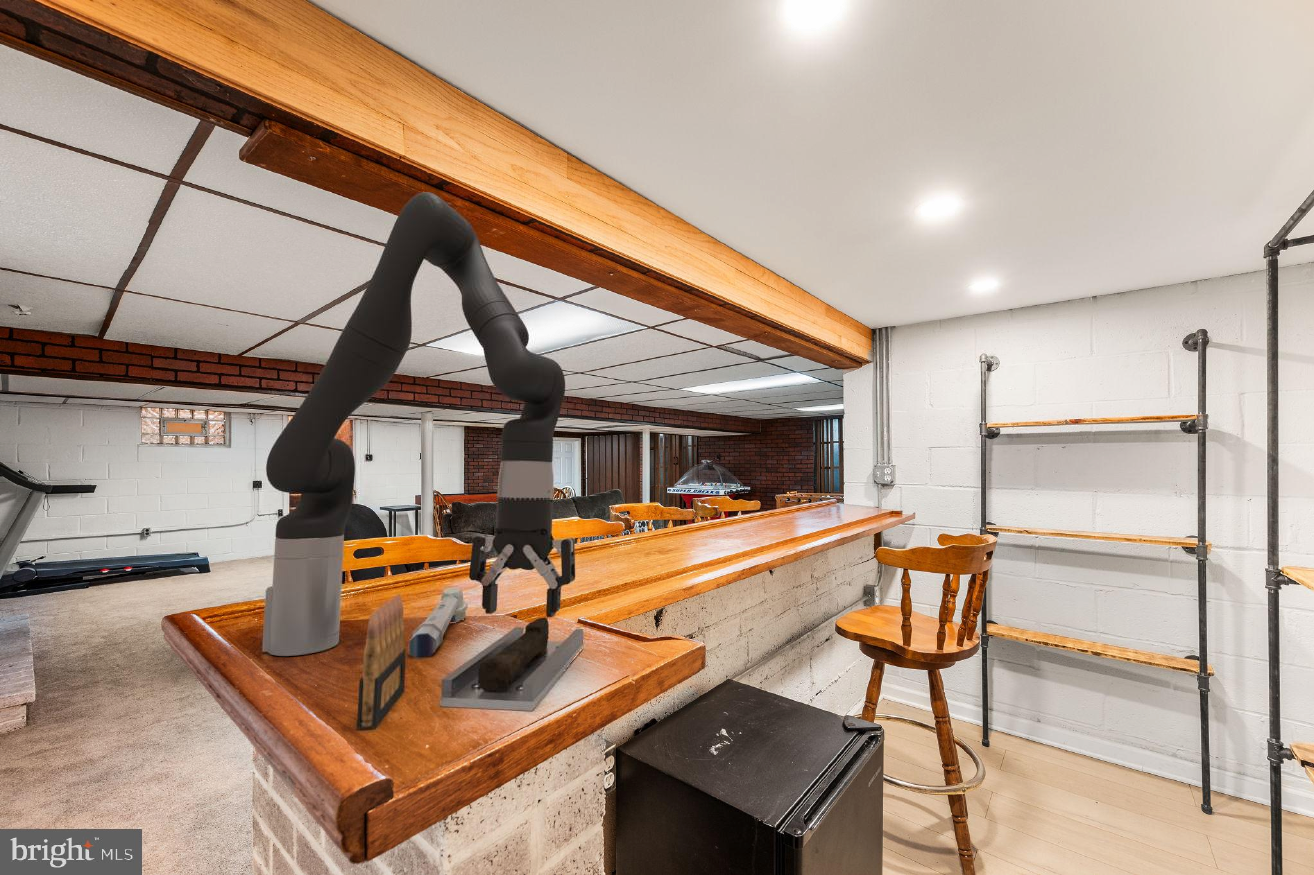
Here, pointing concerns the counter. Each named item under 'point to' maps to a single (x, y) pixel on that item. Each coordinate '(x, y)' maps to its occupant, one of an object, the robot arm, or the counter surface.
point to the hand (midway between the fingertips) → (521, 614)
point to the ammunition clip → (382, 665)
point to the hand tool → (514, 657)
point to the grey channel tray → (524, 684)
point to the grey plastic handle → (437, 623)
